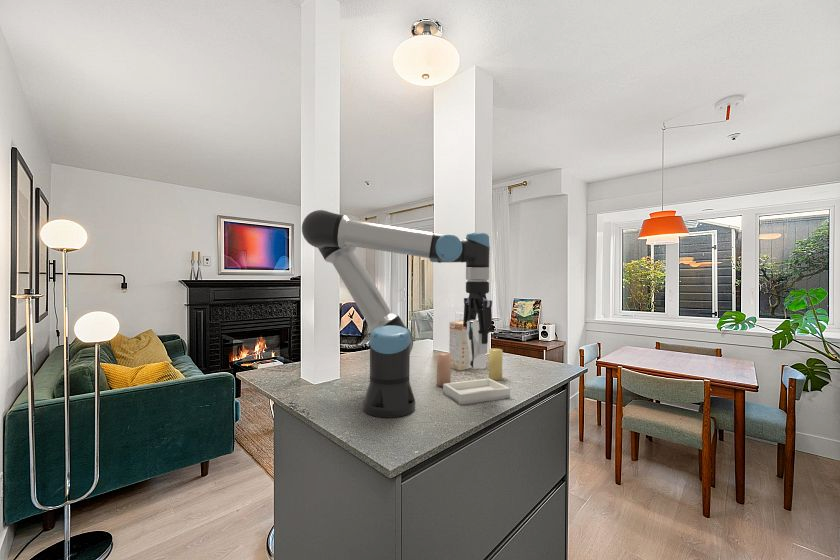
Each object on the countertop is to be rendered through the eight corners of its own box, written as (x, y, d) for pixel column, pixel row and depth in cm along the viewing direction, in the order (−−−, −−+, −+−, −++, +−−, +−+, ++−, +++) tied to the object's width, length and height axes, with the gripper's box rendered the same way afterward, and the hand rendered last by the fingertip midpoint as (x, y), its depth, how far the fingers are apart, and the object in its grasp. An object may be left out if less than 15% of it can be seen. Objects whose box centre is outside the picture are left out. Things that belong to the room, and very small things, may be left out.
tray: (460, 404, 113) (460, 394, 113) (443, 392, 124) (443, 383, 124) (509, 397, 119) (510, 388, 119) (489, 386, 131) (489, 378, 131)
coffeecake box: (472, 362, 167) (472, 318, 166) (484, 365, 161) (485, 320, 161) (448, 367, 157) (448, 321, 157) (460, 370, 152) (461, 323, 151)
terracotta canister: (439, 387, 129) (440, 355, 129) (434, 383, 134) (434, 352, 134) (452, 386, 131) (453, 355, 131) (446, 382, 136) (447, 352, 136)
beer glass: (481, 370, 117) (481, 322, 116) (462, 366, 121) (462, 320, 120) (491, 366, 122) (491, 320, 122) (472, 362, 126) (473, 318, 126)
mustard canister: (493, 381, 138) (493, 351, 138) (486, 377, 142) (486, 348, 142) (504, 379, 140) (505, 350, 139) (497, 376, 144) (497, 347, 144)
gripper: (505, 281, 113) (504, 356, 114) (472, 280, 131) (471, 345, 132) (484, 281, 110) (483, 358, 111) (453, 280, 128) (452, 346, 129)
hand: (476, 351), depth 121 cm, fingers closed on beer glass, 7 cm apart
